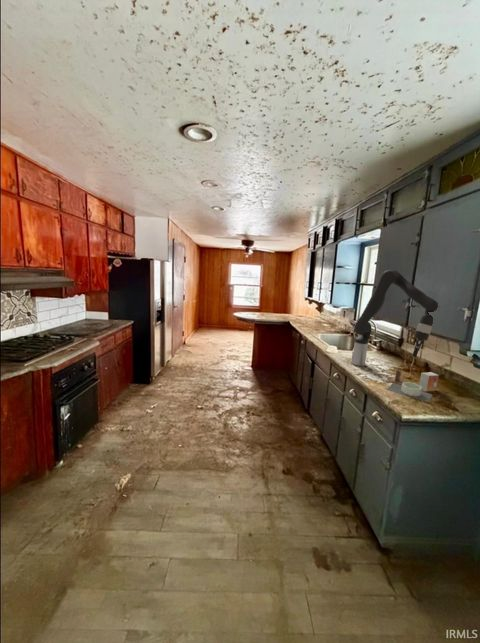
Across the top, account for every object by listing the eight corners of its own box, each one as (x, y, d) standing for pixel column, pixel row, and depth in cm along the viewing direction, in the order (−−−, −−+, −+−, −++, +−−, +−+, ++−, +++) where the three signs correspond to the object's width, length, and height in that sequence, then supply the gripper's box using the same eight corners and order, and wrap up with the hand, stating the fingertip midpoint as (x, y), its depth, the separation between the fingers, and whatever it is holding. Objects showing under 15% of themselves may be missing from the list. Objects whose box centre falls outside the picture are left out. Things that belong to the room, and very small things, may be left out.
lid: (384, 381, 191) (386, 370, 189) (389, 377, 199) (391, 366, 198) (404, 387, 183) (406, 375, 181) (409, 382, 192) (411, 370, 190)
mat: (386, 390, 176) (386, 389, 176) (392, 384, 187) (392, 383, 186) (428, 402, 162) (428, 402, 162) (432, 395, 172) (432, 394, 172)
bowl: (399, 392, 172) (400, 385, 171) (403, 388, 180) (404, 380, 179) (418, 398, 166) (419, 390, 165) (421, 393, 173) (423, 385, 172)
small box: (425, 392, 176) (428, 375, 174) (418, 388, 182) (421, 372, 180) (436, 391, 179) (439, 375, 176) (428, 387, 184) (431, 371, 182)
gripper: (416, 330, 188) (407, 354, 190) (416, 329, 176) (407, 354, 178) (429, 334, 185) (420, 358, 186) (430, 333, 172) (421, 359, 174)
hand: (414, 356), depth 182 cm, fingers open, 8 cm apart
